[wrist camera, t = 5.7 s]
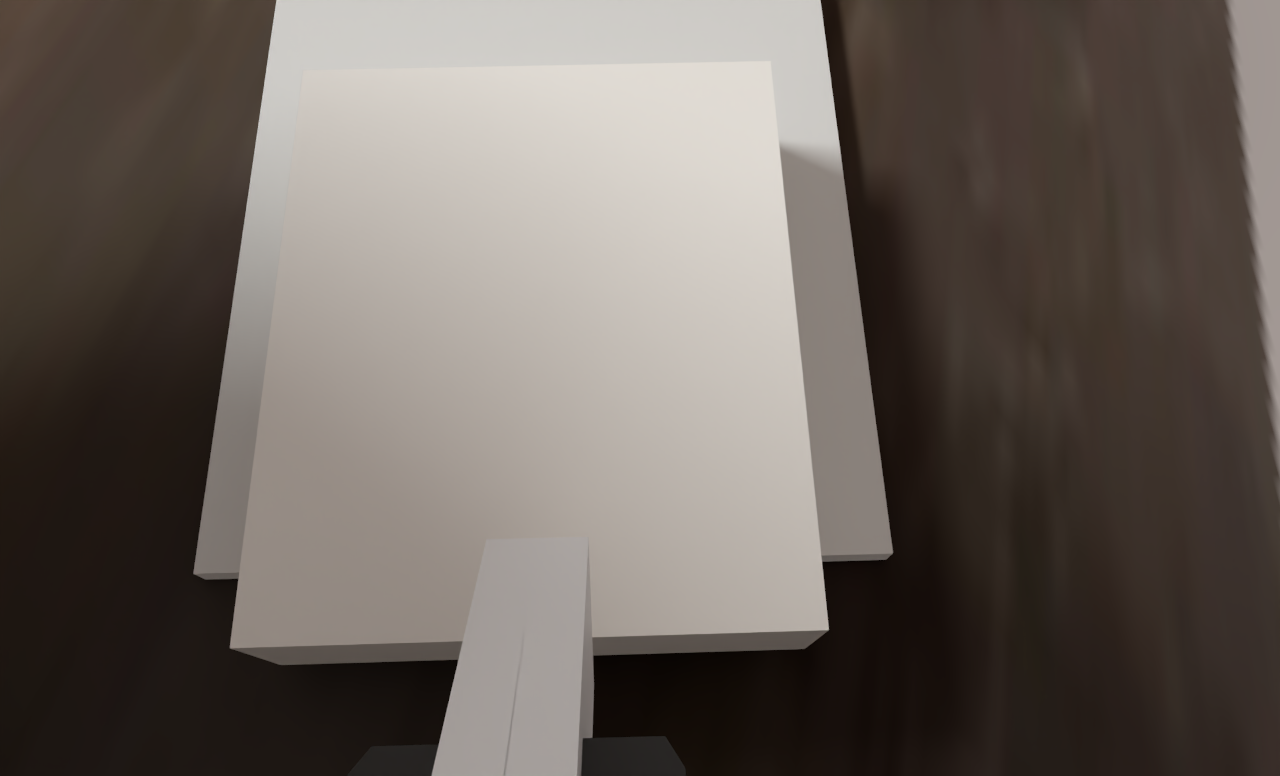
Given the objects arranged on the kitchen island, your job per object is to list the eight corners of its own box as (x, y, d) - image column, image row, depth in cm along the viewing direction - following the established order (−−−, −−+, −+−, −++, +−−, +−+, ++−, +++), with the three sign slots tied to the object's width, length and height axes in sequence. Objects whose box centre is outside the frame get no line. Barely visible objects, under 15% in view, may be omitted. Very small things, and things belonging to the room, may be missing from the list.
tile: (828, 629, 16) (770, 60, 21) (229, 648, 16) (302, 70, 21) (802, 650, 19) (756, 138, 23) (284, 665, 18) (338, 147, 23)
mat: (886, 559, 20) (892, 553, 19) (205, 579, 20) (193, 573, 19) (810, -28, 26) (814, -46, 25) (289, -19, 26) (281, -37, 25)
